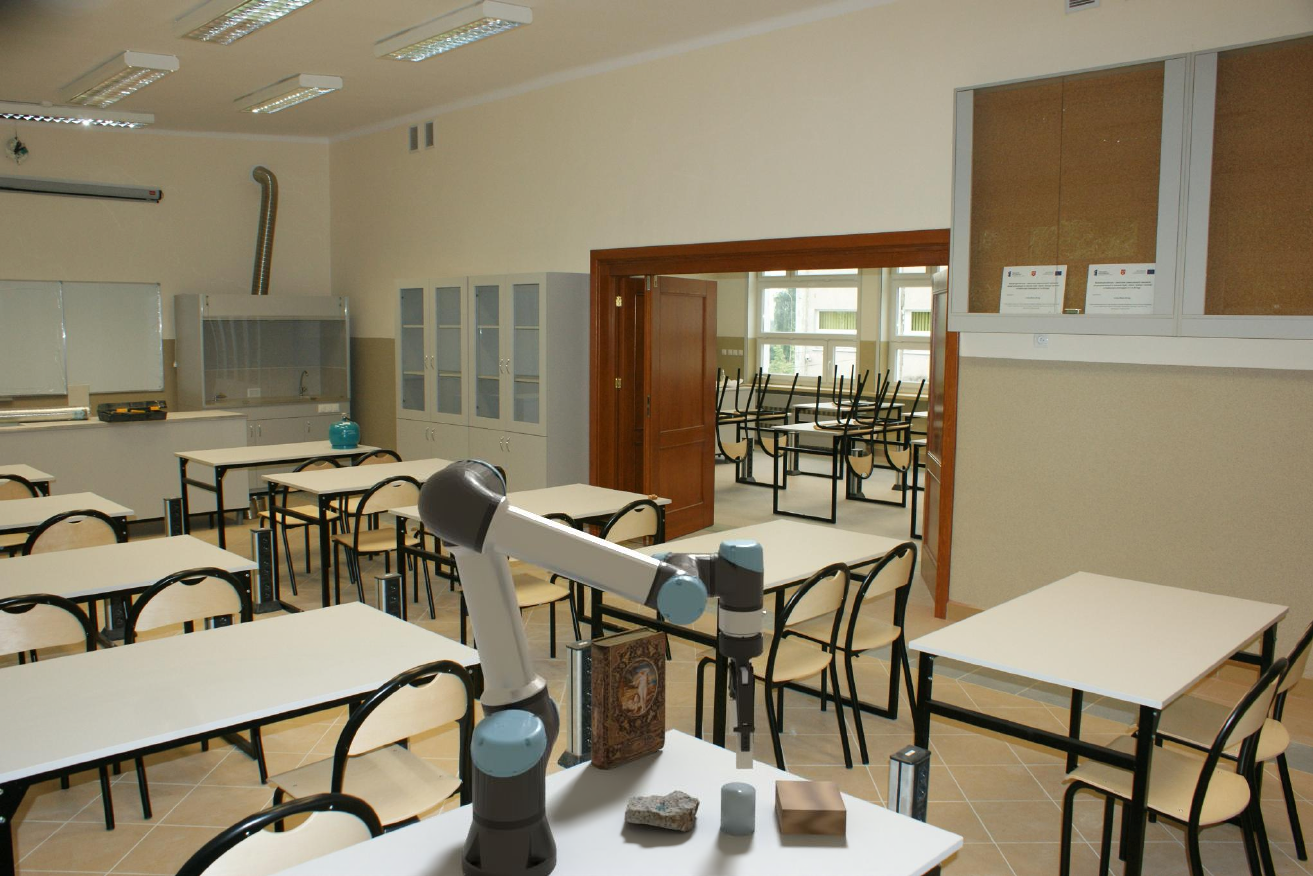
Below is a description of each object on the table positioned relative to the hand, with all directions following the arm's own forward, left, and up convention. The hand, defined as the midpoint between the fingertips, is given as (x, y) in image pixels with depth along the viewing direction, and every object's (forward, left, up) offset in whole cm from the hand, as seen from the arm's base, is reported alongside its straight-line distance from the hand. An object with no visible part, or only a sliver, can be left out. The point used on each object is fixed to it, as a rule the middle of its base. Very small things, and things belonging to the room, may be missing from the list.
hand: (740, 751), depth 167 cm
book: (-20, +30, -14) cm, 39 cm away
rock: (-13, -1, -15) cm, 20 cm away
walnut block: (+13, +3, -14) cm, 19 cm away
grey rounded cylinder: (0, 0, -14) cm, 14 cm away
